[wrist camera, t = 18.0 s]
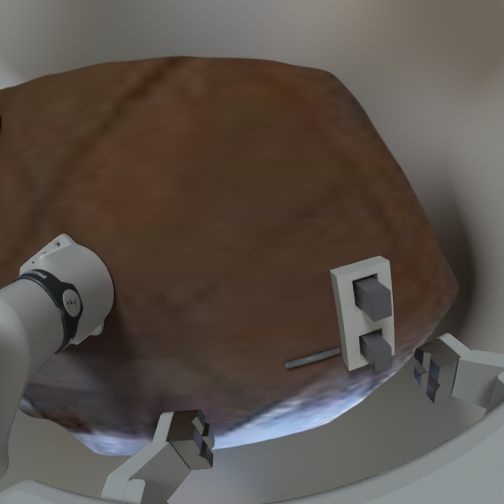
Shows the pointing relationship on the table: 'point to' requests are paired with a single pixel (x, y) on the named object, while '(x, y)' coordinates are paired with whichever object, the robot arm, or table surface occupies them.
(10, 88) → the table surface
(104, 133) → the table surface
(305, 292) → the table surface
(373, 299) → the plug
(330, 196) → the table surface
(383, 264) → the power strip
